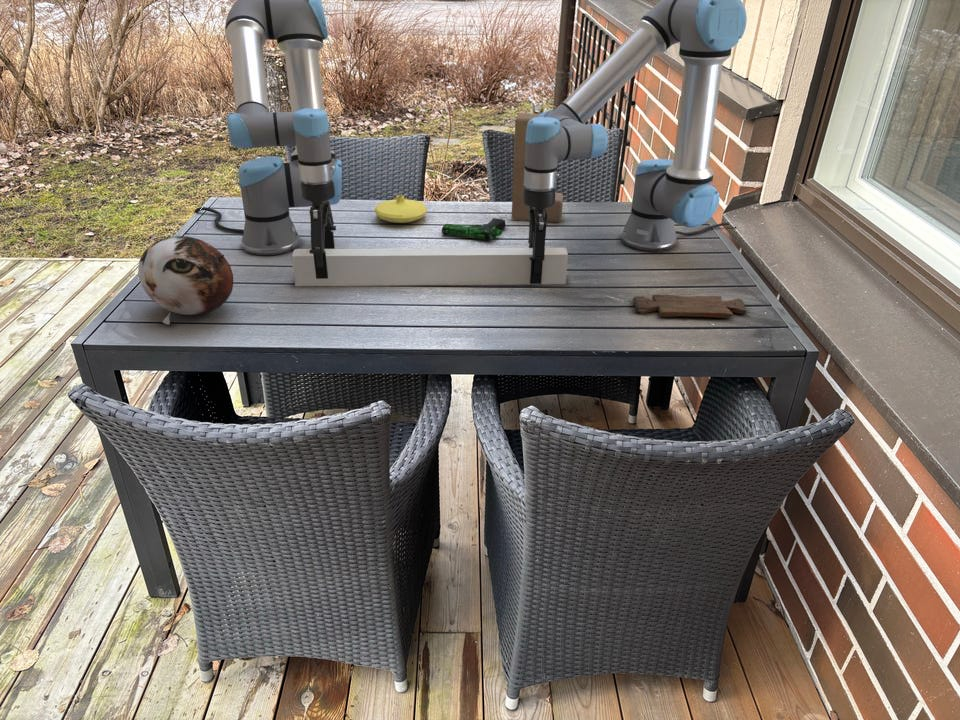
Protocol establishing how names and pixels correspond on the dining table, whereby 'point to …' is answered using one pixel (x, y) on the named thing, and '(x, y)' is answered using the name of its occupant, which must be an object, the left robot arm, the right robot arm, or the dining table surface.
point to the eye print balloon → (185, 276)
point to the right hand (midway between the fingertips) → (534, 278)
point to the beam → (429, 266)
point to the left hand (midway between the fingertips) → (326, 267)
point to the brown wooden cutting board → (689, 306)
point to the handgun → (476, 230)
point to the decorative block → (518, 206)
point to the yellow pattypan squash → (400, 210)
